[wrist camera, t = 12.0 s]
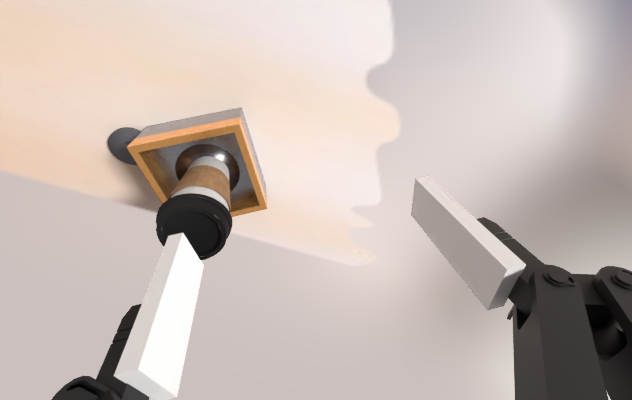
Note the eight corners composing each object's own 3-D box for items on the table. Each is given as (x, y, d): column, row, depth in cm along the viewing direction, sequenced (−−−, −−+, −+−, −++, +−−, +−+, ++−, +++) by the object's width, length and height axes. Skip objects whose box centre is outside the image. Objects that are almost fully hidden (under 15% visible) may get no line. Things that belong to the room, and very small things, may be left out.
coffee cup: (192, 198, 43) (169, 268, 31) (171, 153, 38) (134, 215, 26) (243, 189, 44) (239, 254, 32) (229, 143, 39) (217, 200, 27)
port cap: (103, 130, 40) (96, 136, 38) (143, 123, 40) (137, 128, 38) (125, 164, 43) (119, 171, 41) (161, 157, 44) (157, 163, 42)
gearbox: (146, 126, 40) (126, 147, 34) (241, 107, 41) (239, 123, 35) (188, 201, 49) (178, 229, 43) (265, 184, 50) (267, 208, 44)
